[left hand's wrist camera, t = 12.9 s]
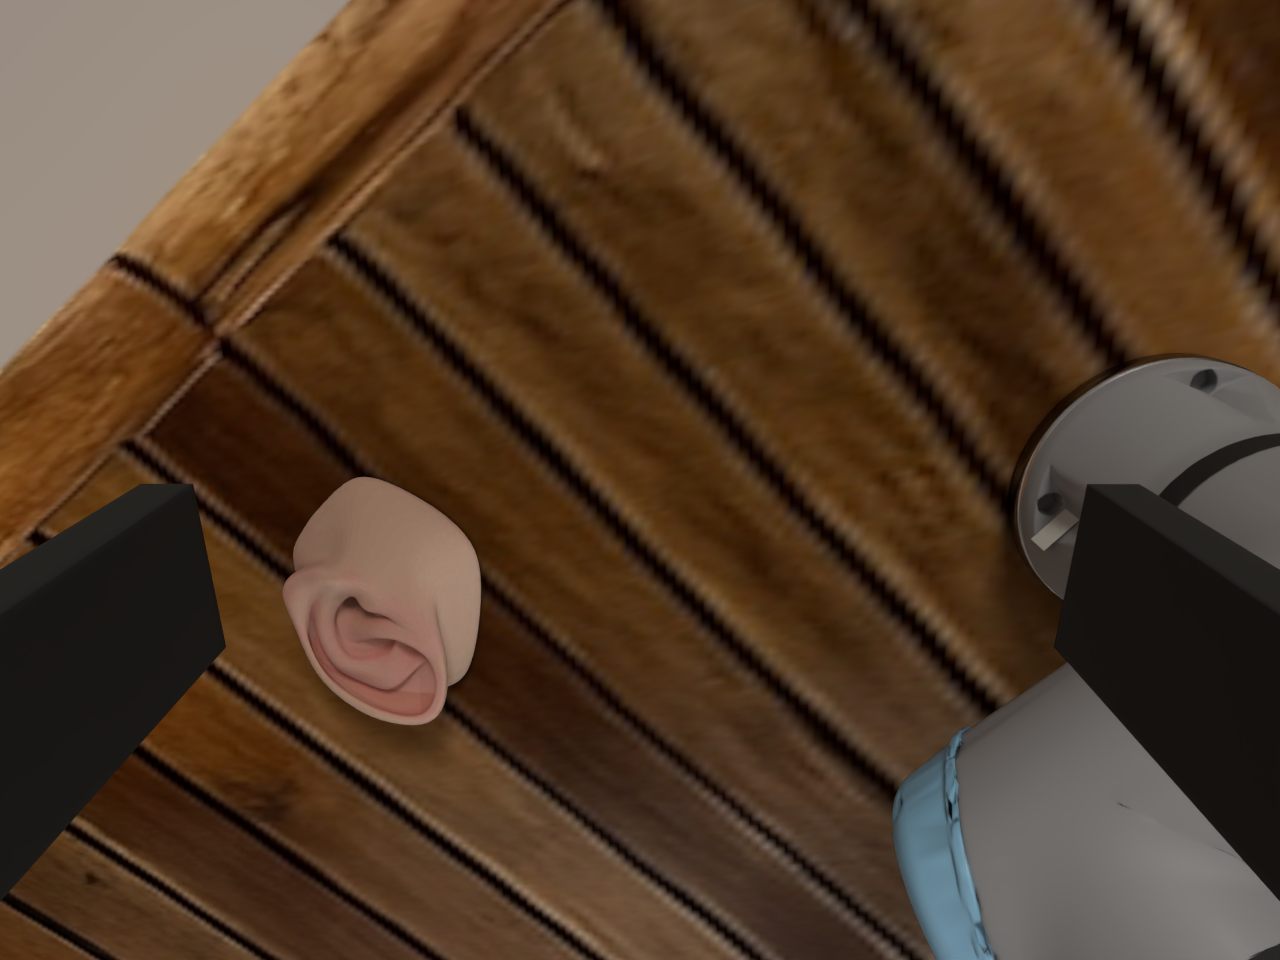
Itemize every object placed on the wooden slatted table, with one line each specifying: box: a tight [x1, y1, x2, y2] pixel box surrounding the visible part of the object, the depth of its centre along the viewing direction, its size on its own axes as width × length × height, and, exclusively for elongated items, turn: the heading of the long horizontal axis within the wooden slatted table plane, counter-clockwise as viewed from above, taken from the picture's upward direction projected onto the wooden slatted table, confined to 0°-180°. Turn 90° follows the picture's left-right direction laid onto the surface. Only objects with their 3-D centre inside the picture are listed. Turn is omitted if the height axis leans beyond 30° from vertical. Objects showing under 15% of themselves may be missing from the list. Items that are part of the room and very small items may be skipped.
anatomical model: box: [283, 477, 481, 725], centre depth 46 cm, size 13×4×12 cm
